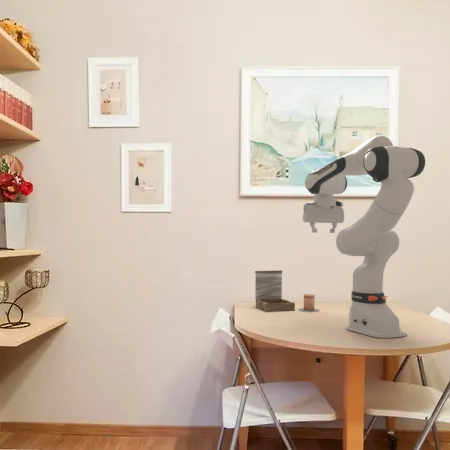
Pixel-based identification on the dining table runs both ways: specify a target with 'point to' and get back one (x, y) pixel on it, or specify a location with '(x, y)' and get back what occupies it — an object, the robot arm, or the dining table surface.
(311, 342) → the dining table surface
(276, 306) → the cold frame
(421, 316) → the dining table surface
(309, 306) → the orange cylinder
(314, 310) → the grey flat disc
